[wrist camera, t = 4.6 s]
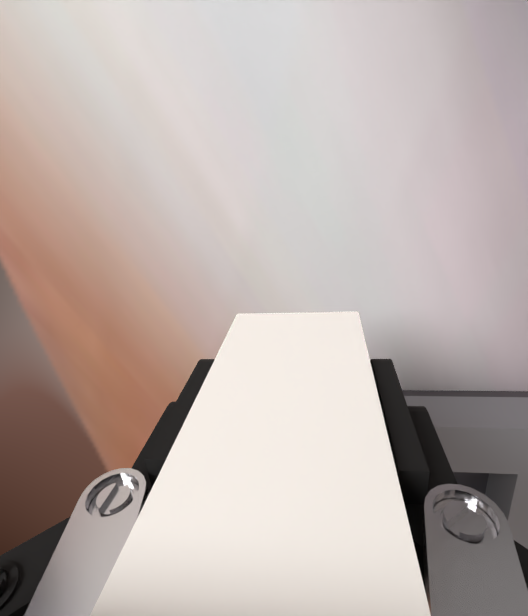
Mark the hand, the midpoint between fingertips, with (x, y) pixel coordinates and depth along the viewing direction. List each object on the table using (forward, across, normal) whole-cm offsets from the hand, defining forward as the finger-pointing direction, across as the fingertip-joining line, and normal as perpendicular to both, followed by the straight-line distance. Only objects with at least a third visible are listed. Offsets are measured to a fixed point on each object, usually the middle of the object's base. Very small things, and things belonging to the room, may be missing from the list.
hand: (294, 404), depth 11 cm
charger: (+2, 0, 0) cm, 2 cm away
